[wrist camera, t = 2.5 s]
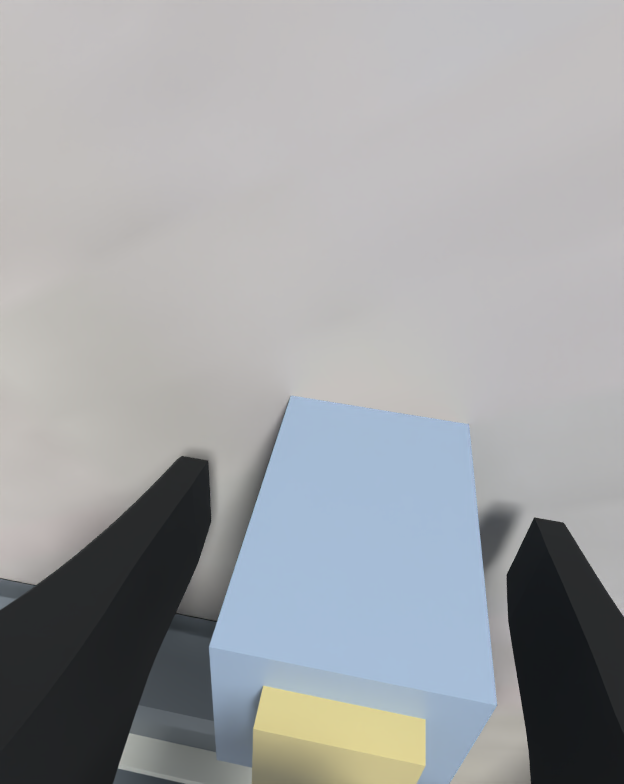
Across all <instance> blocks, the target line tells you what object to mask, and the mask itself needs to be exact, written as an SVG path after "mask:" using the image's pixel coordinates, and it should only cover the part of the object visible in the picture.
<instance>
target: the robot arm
mask: <svg viewBox="0 0 624 784" xmlns="http://www.w3.org/2000/svg"><path fill="white" fill-rule="evenodd" d="M210 523H211V507H210V487H209V468H208V461H207V460H201V459H195V458H190V457H184V456H182V457H180V458H179V459H177V460H176V461H175V462H174V463H173V465H172V466H171V467H170V468H169V469H168V470H167V471H166V472H165V473H164V474H163V475H162V476H161V477H160V478H159V479H158V480H157V481H156V482H155V483H154V484H153V485H152V486H151V487H150V488H149V489H148V490H147V491H146V492H145V493H144V494H143V495H142V496H141V497H140V498H139V499H138V500H137V501H136V502H135V503H134V504H133V505H132V506H131V507H130V508H129V509H128V510H127V511H126V512H124V513H123V514H122V515H121V516H120V517H119V518H118V519H117V520H116V521H115V522H114V523H113V524H112V525H110V526H109V527H108V528H107V529H106V530H105V531H104V532H102V533H101V534H100V535H99V536H98V537H97V538H95V539H94V540H93V541H92V542H91V543H90V544H88V545H87V546H86V547H85V548H84V549H83V550H81V551H80V552H79V553H78V554H77V555H75V556H74V557H73V558H72V559H70V560H69V561H68V562H67V563H65V564H64V565H63V566H61V567H60V568H59V569H58V570H56V571H55V572H54V573H52V574H51V575H50V576H48V577H47V578H45V579H44V580H43V581H41V582H40V583H39V584H37V585H36V586H35V587H33V588H32V589H30V590H29V591H27V592H26V593H24V594H23V595H21V596H20V597H19V598H17V599H16V600H14V601H13V602H11V603H10V604H8V605H7V606H5V607H4V608H2V609H1V610H0V784H113V782H114V779H115V776H116V772H117V769H118V766H119V763H120V760H121V757H122V754H123V751H124V747H125V744H126V741H127V738H128V735H129V732H130V729H131V726H132V723H133V720H134V717H135V714H136V711H137V708H138V705H139V702H140V699H141V696H142V694H143V691H144V688H145V685H146V682H147V679H148V676H149V673H150V671H151V668H152V666H153V663H154V661H155V658H156V656H157V653H158V651H159V649H160V647H161V644H162V642H163V640H164V638H165V636H166V633H167V631H168V629H169V627H170V624H171V622H172V620H173V618H174V616H175V613H176V611H177V609H178V607H179V604H180V602H181V600H182V598H183V596H184V593H185V591H186V589H187V587H188V584H189V582H190V580H191V577H192V575H193V573H194V571H195V568H196V566H197V564H198V561H199V558H200V555H201V552H202V549H203V546H204V543H205V539H206V536H207V533H208V530H209V526H210ZM507 603H508V622H509V628H510V635H511V641H512V648H513V654H514V660H515V666H516V672H517V678H518V684H519V690H520V696H521V702H522V708H523V714H524V720H525V726H526V733H527V741H528V749H529V760H530V775H531V784H624V617H623V615H622V614H621V612H620V611H619V609H618V608H617V606H616V605H615V603H614V602H613V600H612V599H611V597H610V596H609V594H608V593H607V591H606V589H605V588H604V586H603V585H602V583H601V582H600V580H599V579H598V577H597V575H596V574H595V572H594V571H593V569H592V567H591V566H590V564H589V563H588V561H587V559H586V558H585V556H584V554H583V553H582V551H581V550H580V548H579V546H578V545H577V543H576V541H575V540H574V538H573V537H572V535H571V533H570V532H569V530H568V529H567V527H566V525H565V524H564V523H563V522H557V521H551V520H545V519H540V518H534V519H533V521H532V523H531V525H530V528H529V530H528V532H527V534H526V536H525V538H524V540H523V542H522V544H521V546H520V548H519V550H518V553H517V555H516V557H515V559H514V561H513V563H512V565H511V567H510V569H509V571H508V573H507Z"/></svg>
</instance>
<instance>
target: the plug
mask: <svg viewBox="0 0 624 784" xmlns="http://www.w3.org/2000/svg"><path fill="white" fill-rule="evenodd" d="M209 655H210V669H211V684H212V699H213V713H214V728H215V743H216V758H217V760H219V761H224V762H229V763H233V764H238V765H242V766H247V767H251V768H252V784H450V782H451V780H452V779H453V777H454V775H455V774H456V772H457V770H458V769H459V767H460V766H461V764H462V762H463V761H464V759H465V757H466V756H467V754H468V752H469V751H470V749H471V747H472V746H473V744H474V743H475V741H476V739H477V738H478V736H479V734H480V733H481V731H482V729H483V728H484V726H485V724H486V723H487V721H488V719H489V718H490V716H491V715H492V713H493V711H494V710H495V708H496V706H497V701H496V691H495V681H494V671H493V661H492V651H491V640H490V630H489V620H488V610H487V600H486V590H485V580H484V570H483V560H482V550H481V540H480V530H479V520H478V510H477V500H476V490H475V480H474V470H473V460H472V450H471V440H470V430H469V424H463V423H457V422H451V421H445V420H438V419H432V418H426V417H420V416H414V415H408V414H401V413H395V412H389V411H383V410H377V409H371V408H364V407H358V406H352V405H346V404H340V403H334V402H327V401H321V400H315V399H309V398H303V397H297V396H291V397H290V400H289V403H288V406H287V409H286V412H285V415H284V418H283V421H282V425H281V428H280V431H279V434H278V437H277V440H276V443H275V446H274V449H273V452H272V455H271V458H270V461H269V464H268V467H267V471H266V474H265V477H264V480H263V483H262V486H261V489H260V492H259V495H258V498H257V501H256V504H255V507H254V510H253V513H252V517H251V520H250V523H249V526H248V529H247V532H246V535H245V538H244V541H243V544H242V547H241V550H240V553H239V556H238V559H237V562H236V566H235V569H234V572H233V575H232V578H231V581H230V584H229V587H228V590H227V593H226V596H225V599H224V602H223V605H222V608H221V612H220V615H219V618H218V621H217V624H216V627H215V630H214V633H213V636H212V639H211V642H210V645H209Z"/></svg>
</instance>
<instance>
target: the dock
mask: <svg viewBox="0 0 624 784" xmlns="http://www.w3.org/2000/svg"><path fill="white" fill-rule="evenodd" d="M33 587H35V586H34V585H29V584H24V583H19V582H14V581H9V580H4V579H0V610H1V609H2V608H4V607H5V606H7V605H8V604H10V603H11V602H13V601H14V600H16V599H17V598H19V597H20V596H21V595H23V594H24V593H26V592H27V591H29V590H30V589H32V588H33ZM216 624H217V622H214V621H209V620H204V619H199V618H194V617H189V616H184V615H179V614H175V616H174V618H173V620H172V622H171V624H170V627H169V629H168V631H167V633H166V636H165V638H164V640H163V642H162V644H161V647H160V649H159V651H158V653H157V656H156V658H155V661H154V663H153V666H152V668H151V671H150V673H149V676H148V679H147V682H146V685H145V688H144V691H143V694H142V696H141V699H140V702H139V705H138V708H137V711H136V714H135V717H134V720H133V723H132V726H131V729H130V732H129V735H128V738H127V741H126V744H125V747H124V751H123V754H122V757H121V760H120V763H119V766H118V769H117V772H116V776H115V779H114V782H113V784H252V768H251V767H247V766H242V765H238V764H233V763H229V762H224V761H219V760H217V758H216V743H215V728H214V713H213V699H212V684H211V669H210V655H209V645H210V642H211V639H212V636H213V633H214V630H215V627H216Z"/></svg>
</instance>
